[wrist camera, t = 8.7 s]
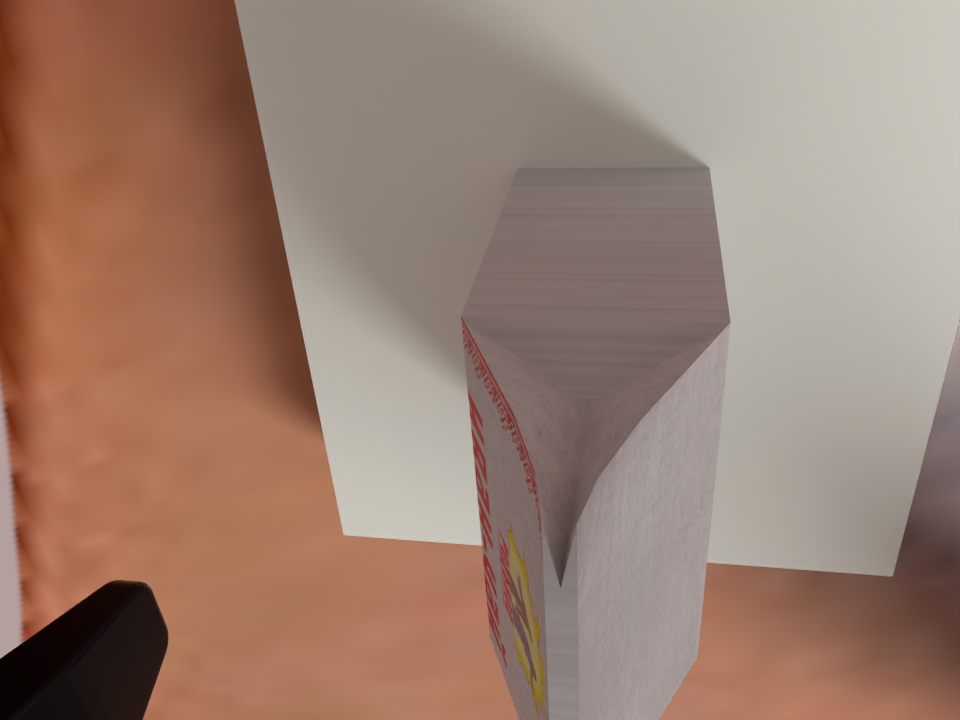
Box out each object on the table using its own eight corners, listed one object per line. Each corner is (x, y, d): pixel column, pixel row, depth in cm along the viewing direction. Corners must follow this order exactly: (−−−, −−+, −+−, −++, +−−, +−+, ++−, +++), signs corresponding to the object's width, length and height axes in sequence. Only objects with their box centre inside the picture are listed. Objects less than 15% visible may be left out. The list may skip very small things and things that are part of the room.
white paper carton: (709, 167, 16) (759, 537, 8) (688, 447, 20) (708, 901, 12) (517, 168, 17) (386, 511, 9) (530, 439, 21) (444, 863, 12)
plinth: (868, 494, 24) (892, 576, 21) (373, 465, 26) (343, 534, 24) (996, -78, 16) (1057, -56, 14) (287, -42, 19) (230, -17, 16)
